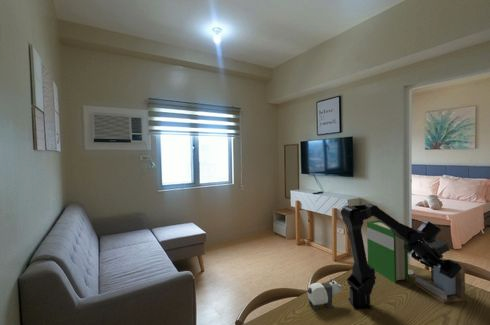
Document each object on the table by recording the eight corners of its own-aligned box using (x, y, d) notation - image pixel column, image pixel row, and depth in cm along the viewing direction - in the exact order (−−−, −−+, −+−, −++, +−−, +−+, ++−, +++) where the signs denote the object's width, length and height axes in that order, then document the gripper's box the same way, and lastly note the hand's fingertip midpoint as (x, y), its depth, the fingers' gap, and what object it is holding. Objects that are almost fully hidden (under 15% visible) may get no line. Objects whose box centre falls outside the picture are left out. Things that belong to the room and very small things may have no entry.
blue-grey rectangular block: (444, 295, 99) (444, 269, 98) (433, 288, 104) (433, 264, 103) (455, 294, 99) (455, 268, 99) (444, 287, 104) (444, 263, 104)
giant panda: (312, 311, 94) (311, 287, 94) (305, 303, 100) (304, 280, 99) (346, 305, 97) (345, 282, 97) (338, 298, 103) (337, 275, 102)
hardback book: (408, 280, 114) (407, 229, 113) (394, 283, 112) (393, 231, 112) (380, 264, 131) (379, 220, 130) (368, 266, 130) (366, 221, 129)
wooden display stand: (442, 302, 97) (442, 270, 96) (414, 284, 110) (414, 256, 110) (465, 300, 97) (464, 268, 97) (434, 282, 111) (434, 254, 111)
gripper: (456, 242, 91) (483, 269, 93) (416, 228, 110) (439, 250, 111) (437, 265, 91) (465, 291, 92) (400, 246, 109) (423, 269, 111)
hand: (447, 273), depth 101 cm, fingers open, 5 cm apart
